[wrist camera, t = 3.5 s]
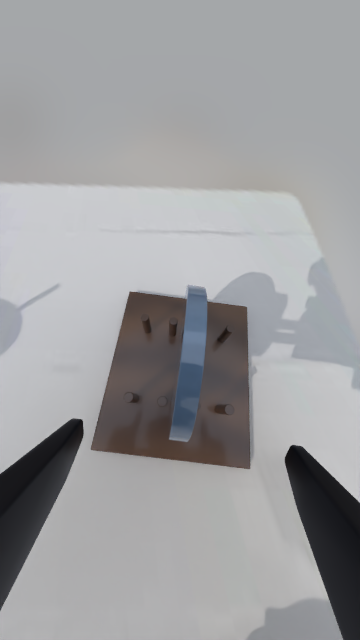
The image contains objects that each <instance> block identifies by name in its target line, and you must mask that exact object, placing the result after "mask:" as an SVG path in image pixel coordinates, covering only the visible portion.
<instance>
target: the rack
mask: <svg viewBox="0 0 360 640" xmlns="http://www.w3.org/2000/svg"><path fill="white" fill-rule="evenodd" d="M184 300H185V299H183V298H175V297H168V296H160V295H152V294H145V293H137V292H130V293H129V297H128V301H127V305H126V309H125V313H124V317H123V321H122V325H121V329H120V333H119V337H118V341H117V345H116V349H115V353H114V357H113V361H112V366H111V370H110V374H109V378H108V382H107V386H106V390H105V394H104V398H103V402H102V406H101V410H100V414H99V418H98V422H97V426H96V430H95V434H94V438H93V442H92V446H91V450H96V451H105V452H113V453H121V454H129V455H138V456H146V457H154V458H163V459H171V460H179V461H188V462H196V463H204V464H212V465H221V466H229V467H237V468H246V469H250V432H249V384H248V335H247V307H244V306H236V305H228V304H221V303H213V302H207V335H206V349H205V359H204V369H203V377H202V385H201V392H200V398H199V404H198V410H197V415H196V420H195V424H194V428H193V432H192V435H191V437H190V440H189V441H188V442H181V441H173V440H168V431H169V419H170V409H171V399H172V390H173V382H174V373H175V365H176V357H177V349H178V341H179V334H180V327H181V320H182V313H183V306H184Z"/></svg>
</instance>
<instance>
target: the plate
mask: <svg viewBox="0 0 360 640" xmlns="http://www.w3.org/2000/svg"><path fill="white" fill-rule="evenodd" d="M206 335H207V294H206V289H205V288H204V287H201V286H194V285H187V289H186V294H185V300H184V306H183V313H182V320H181V327H180V334H179V341H178V349H177V357H176V365H175V373H174V382H173V390H172V399H171V409H170V419H169V431H168V440H173V441H181V442H188V441H189V440H190V437H191V435H192V432H193V428H194V424H195V420H196V415H197V410H198V404H199V398H200V392H201V385H202V377H203V369H204V359H205V349H206Z"/></svg>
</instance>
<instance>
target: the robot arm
mask: <svg viewBox="0 0 360 640" xmlns="http://www.w3.org/2000/svg"><path fill="white" fill-rule="evenodd" d="M83 434H84V431H83V421H82V420H81V419H71V420H69V421H68V422H67V423H66V424H64V425H63V426H62V427H60V428H59V429H58V430H57V431H55V432H54V433H53V434H51V435H50V436H49V437H48V438H46V439H45V440H44V441H42V442H41V443H40V444H39V445H37V446H36V447H35V448H33V449H32V450H31V451H30V452H28V453H27V454H26V455H24V456H23V457H22V458H20V459H19V460H18V461H17V462H15V463H14V464H13V465H11V466H10V467H9V468H8V469H6V470H5V471H4V472H2V473H1V474H0V610H1V608H2V606H3V604H4V602H5V600H6V598H7V596H8V594H9V592H10V590H11V588H12V586H13V584H14V582H15V580H16V578H17V576H18V574H19V572H20V570H21V568H22V566H23V564H24V562H25V560H26V558H27V557H28V555H29V553H30V551H31V549H32V547H33V545H34V543H35V541H36V539H37V537H38V535H39V533H40V531H41V529H42V527H43V525H44V523H45V521H46V519H47V517H48V515H49V513H50V511H51V509H52V507H53V505H54V503H55V501H56V499H57V497H58V495H59V493H60V491H61V489H62V487H63V485H64V483H65V481H66V479H67V476H68V474H69V471H70V469H71V466H72V464H73V461H74V459H75V456H76V454H77V451H78V449H79V446H80V444H81V441H82V439H83ZM285 465H286V468H287V472H288V476H289V480H290V484H291V487H292V491H293V495H294V499H295V502H296V506H297V509H298V512H299V515H300V518H301V521H302V523H303V526H304V529H305V532H306V535H307V538H308V540H309V543H310V546H311V549H312V552H313V555H314V558H315V560H316V563H317V566H318V569H319V572H320V575H321V577H322V580H323V583H324V586H325V589H326V592H327V594H328V597H329V600H330V603H331V606H332V609H333V612H334V614H335V617H336V620H337V623H338V626H339V629H340V631H341V634H342V637H343V640H360V503H359V502H358V501H357V500H356V499H355V498H354V497H353V496H352V495H351V494H350V493H349V492H348V491H347V490H346V489H345V488H344V487H343V486H342V485H341V484H340V483H339V482H338V481H337V480H336V479H335V478H334V477H333V476H332V475H331V474H330V473H329V472H328V471H327V470H326V469H325V468H324V467H322V466H321V465H320V464H319V463H318V462H317V461H316V460H315V459H314V458H313V457H312V456H311V455H310V454H309V453H308V452H307V451H306V450H305V449H304V448H303V447H301V446H296V445H292V446H290V448H289V450H288V452H287V454H286V457H285Z"/></svg>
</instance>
